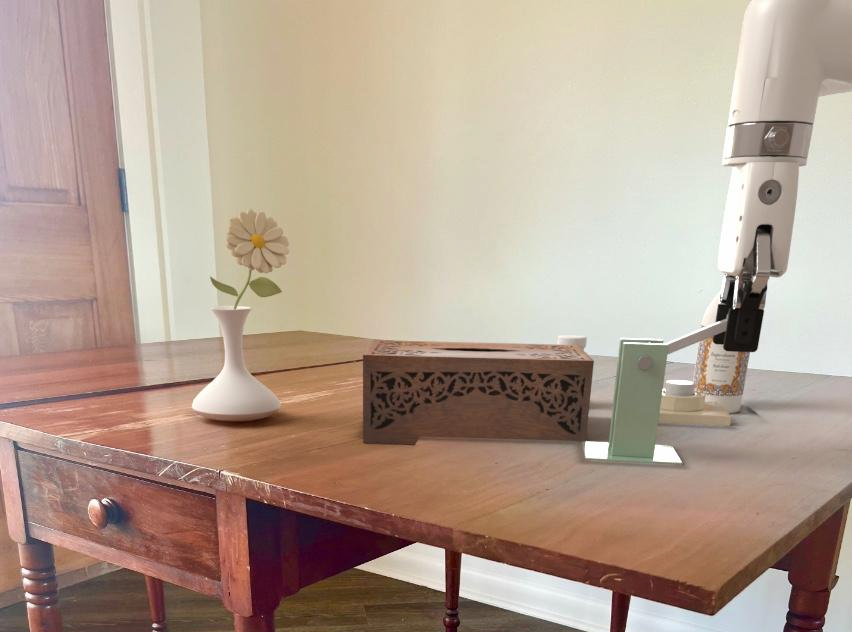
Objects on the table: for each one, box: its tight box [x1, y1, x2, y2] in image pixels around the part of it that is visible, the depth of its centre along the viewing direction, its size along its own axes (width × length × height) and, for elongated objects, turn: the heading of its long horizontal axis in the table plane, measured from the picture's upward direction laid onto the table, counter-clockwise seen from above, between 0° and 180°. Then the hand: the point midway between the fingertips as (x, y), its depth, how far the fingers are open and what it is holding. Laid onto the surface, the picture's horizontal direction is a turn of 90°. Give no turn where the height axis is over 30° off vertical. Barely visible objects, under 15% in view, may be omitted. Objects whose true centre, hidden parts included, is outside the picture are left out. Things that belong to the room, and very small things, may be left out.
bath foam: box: [692, 283, 751, 415], centre depth 120 cm, size 7×7×20 cm
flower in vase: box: [191, 208, 290, 422], centre depth 108 cm, size 13×11×25 cm
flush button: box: [664, 379, 695, 396], centre depth 113 cm, size 4×4×2 cm
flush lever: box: [648, 314, 728, 356], centre depth 89 cm, size 12×5×2 cm, turn 81°
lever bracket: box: [581, 337, 684, 466], centre depth 92 cm, size 10×8×13 cm
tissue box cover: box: [362, 339, 595, 446], centre depth 105 cm, size 26×14×10 cm, turn 86°
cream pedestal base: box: [658, 388, 733, 427], centre depth 114 cm, size 12×10×4 cm
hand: (734, 345), depth 89 cm, fingers closed on flush lever, 5 cm apart
